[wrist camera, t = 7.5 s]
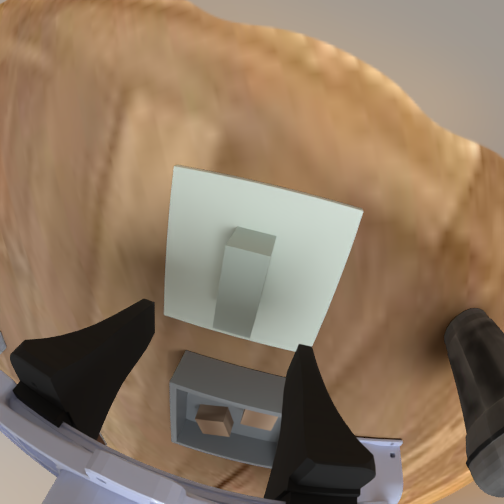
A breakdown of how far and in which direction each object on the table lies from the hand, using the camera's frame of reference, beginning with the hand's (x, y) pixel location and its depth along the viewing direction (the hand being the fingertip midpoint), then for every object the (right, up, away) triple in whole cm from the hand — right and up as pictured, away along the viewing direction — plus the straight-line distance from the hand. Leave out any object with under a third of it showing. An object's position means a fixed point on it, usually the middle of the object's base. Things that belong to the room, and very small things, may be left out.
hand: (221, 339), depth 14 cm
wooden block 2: (+2, -10, +12) cm, 16 cm away
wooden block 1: (-2, -13, +14) cm, 19 cm away
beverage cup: (+20, -2, +6) cm, 20 cm away
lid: (+1, +3, +7) cm, 8 cm away
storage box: (0, -11, +14) cm, 18 cm away
